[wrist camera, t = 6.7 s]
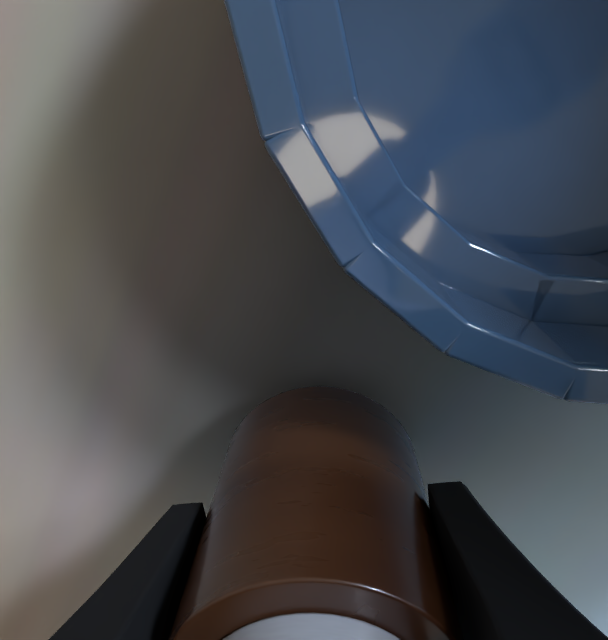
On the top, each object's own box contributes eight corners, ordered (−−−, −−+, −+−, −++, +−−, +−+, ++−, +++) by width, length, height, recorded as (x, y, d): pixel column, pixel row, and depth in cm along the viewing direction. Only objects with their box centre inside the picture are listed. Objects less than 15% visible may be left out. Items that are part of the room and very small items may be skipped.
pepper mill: (448, 499, 12) (605, 989, 5) (289, 568, 13) (245, 1061, 6) (357, 352, 11) (407, 733, 4) (189, 438, 12) (-2, 869, 5)
